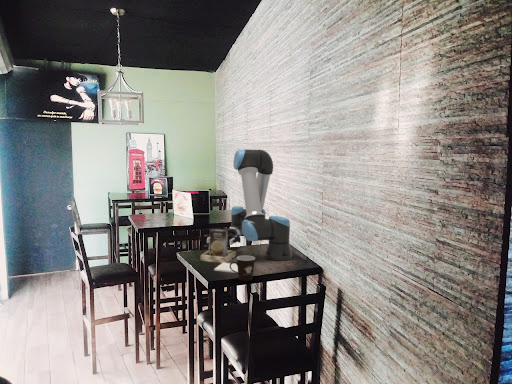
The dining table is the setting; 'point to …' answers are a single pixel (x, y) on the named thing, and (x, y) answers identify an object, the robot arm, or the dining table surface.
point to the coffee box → (218, 242)
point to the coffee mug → (245, 267)
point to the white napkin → (227, 267)
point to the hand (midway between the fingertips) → (218, 241)
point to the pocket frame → (226, 259)
